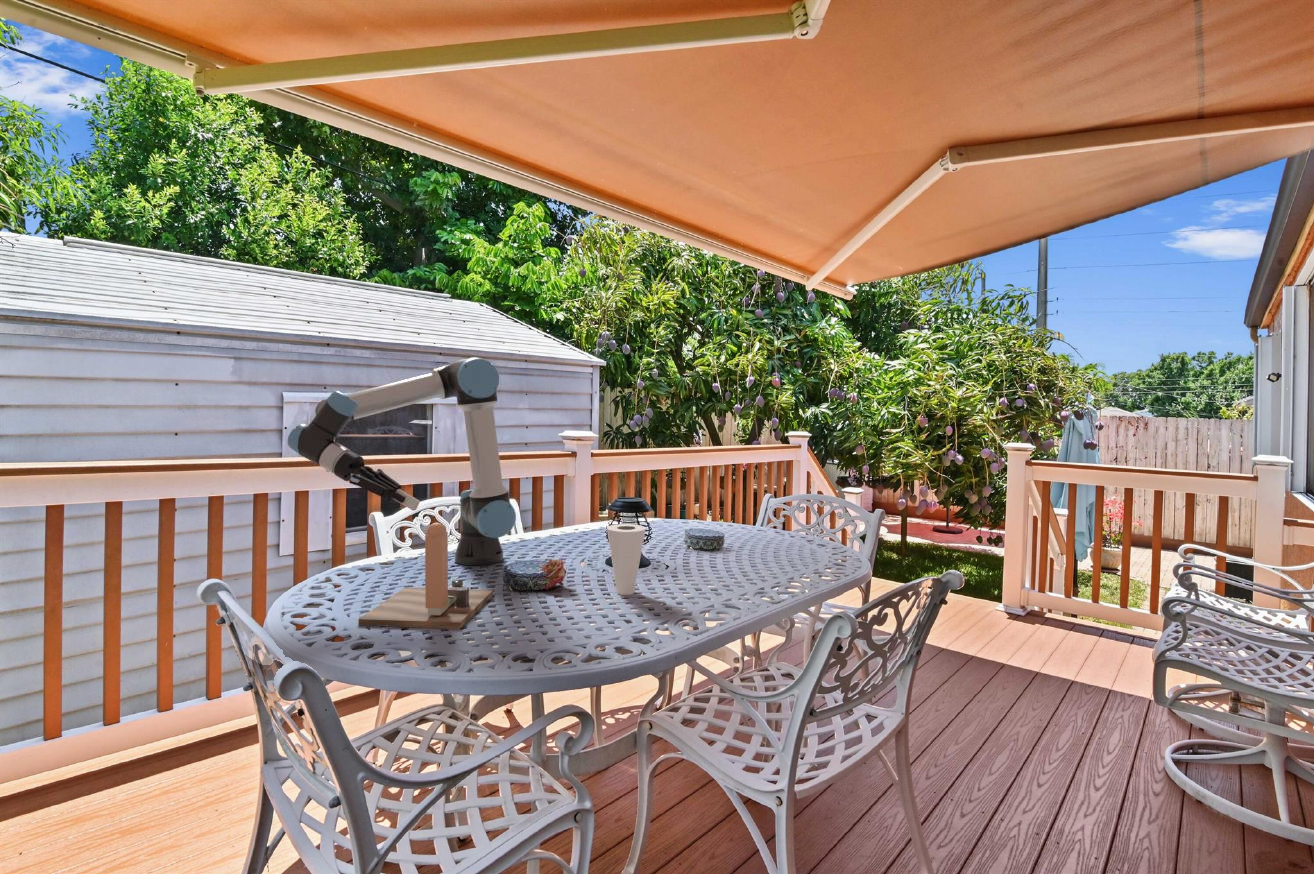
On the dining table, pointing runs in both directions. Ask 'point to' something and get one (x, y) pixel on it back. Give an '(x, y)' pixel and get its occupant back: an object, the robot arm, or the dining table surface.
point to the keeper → (459, 593)
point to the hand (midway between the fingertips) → (416, 505)
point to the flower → (554, 572)
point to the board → (423, 610)
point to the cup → (625, 555)
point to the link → (437, 570)
